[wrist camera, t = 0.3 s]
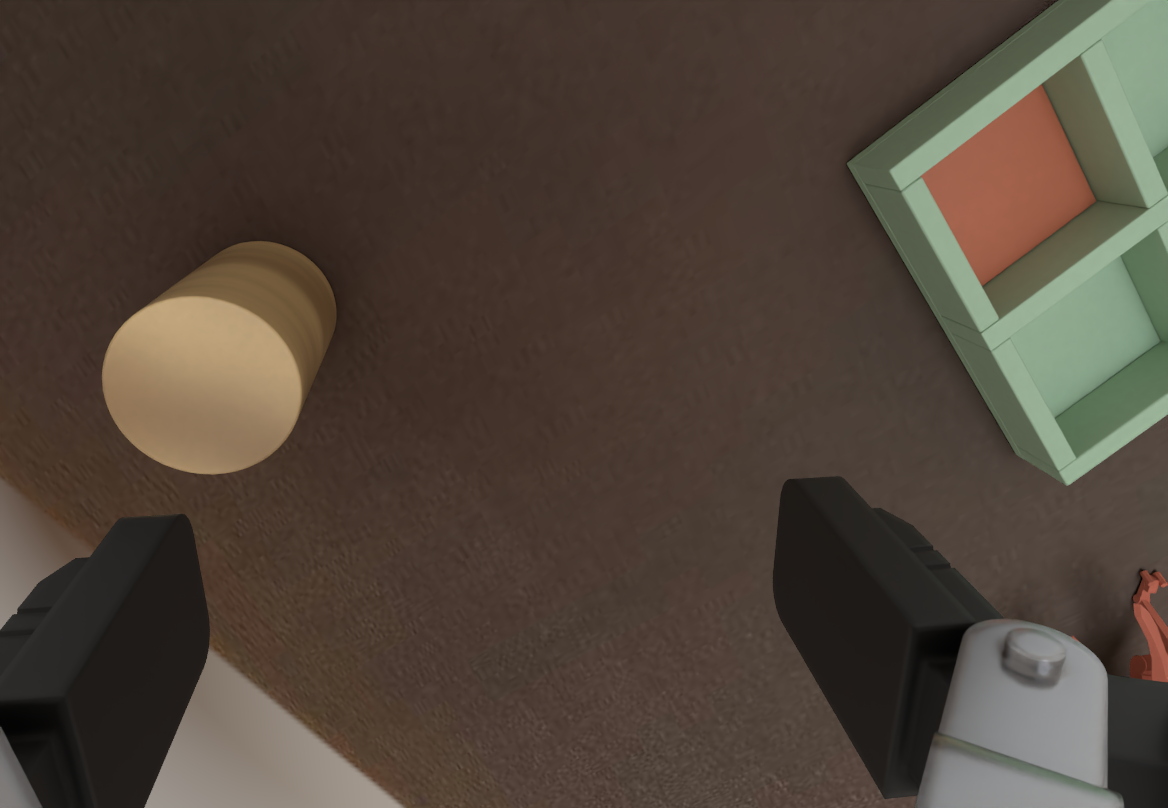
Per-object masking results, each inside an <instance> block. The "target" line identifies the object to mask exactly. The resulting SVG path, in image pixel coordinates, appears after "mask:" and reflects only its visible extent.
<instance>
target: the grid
mask: <svg viewBox="0 0 1168 808" xmlns="http://www.w3.org/2000/svg"><path fill="white" fill-rule="evenodd" d="M847 166H848V167H849V169H850V171H851V172H852V174H853V176H854V178H855V179H856V181H857V183H858V184H859V186H860V188H861V190H862V191H863V193H864V195H865V196H866V198H867V200H868V202H869V203H870V205H871V207H872V208H873V210H874V212H875V214H876V215H877V217H878V219H879V220H880V222H881V224H882V226H883V227H884V229H885V231H886V232H887V234H888V236H889V238H890V239H891V241H892V243H893V244H894V246H895V248H896V250H897V251H898V253H899V255H900V256H901V258H902V260H903V262H904V263H905V265H906V267H907V268H908V270H909V272H910V274H911V275H912V277H913V279H914V280H915V282H916V284H917V286H918V287H919V289H920V291H921V292H922V294H923V296H924V298H925V299H926V301H927V303H928V304H929V306H930V308H931V310H932V311H933V313H934V315H935V316H936V318H937V320H938V322H939V323H940V325H941V327H942V328H943V330H944V332H945V334H946V335H947V337H948V339H949V340H950V342H951V344H952V346H953V347H954V349H955V351H956V352H957V354H958V356H959V358H960V359H961V361H962V363H963V364H964V366H965V368H966V370H967V371H968V373H969V375H970V376H971V378H972V380H973V382H974V383H975V385H976V387H977V388H978V390H979V392H980V394H981V395H982V397H983V399H984V400H985V402H986V404H987V406H988V407H989V409H990V411H991V412H992V414H993V416H994V418H995V419H996V421H997V423H998V424H999V426H1000V428H1001V430H1002V431H1003V433H1004V435H1005V436H1006V438H1007V440H1008V442H1009V443H1010V445H1011V447H1012V448H1013V450H1014V452H1015V454H1016V455H1017V456H1019V457H1021V458H1022V459H1024V460H1026V461H1028V462H1029V463H1031V464H1033V465H1034V466H1036V467H1037V468H1039V469H1041V470H1042V471H1044V472H1046V473H1047V474H1049V475H1050V476H1052V477H1054V478H1055V479H1057V480H1058V481H1060V482H1062V483H1063V484H1065V485H1070V484H1071V483H1073V482H1074V481H1075V480H1077V479H1078V478H1079V477H1081V476H1082V475H1084V474H1085V473H1086V472H1088V471H1089V470H1091V469H1092V468H1093V467H1095V466H1096V465H1098V464H1099V463H1100V462H1102V461H1103V460H1105V459H1106V458H1107V457H1109V456H1110V455H1112V454H1113V453H1114V452H1116V451H1117V450H1119V449H1120V448H1121V447H1123V446H1124V445H1126V444H1127V443H1128V442H1130V441H1131V440H1133V439H1134V438H1135V437H1137V436H1138V435H1140V434H1141V433H1142V432H1144V431H1145V430H1147V429H1148V428H1149V427H1151V426H1152V425H1154V424H1155V423H1156V422H1158V421H1159V420H1161V419H1162V418H1163V417H1165V416H1166V415H1167V414H1168V0H1058V1H1057V2H1055V3H1054V4H1053V5H1052V6H1050V7H1049V8H1048V9H1046V10H1045V11H1044V12H1042V13H1041V14H1040V15H1039V16H1037V17H1036V18H1035V19H1033V20H1032V21H1031V22H1029V23H1028V24H1027V25H1026V26H1024V27H1023V28H1022V29H1020V30H1019V31H1018V32H1016V33H1015V34H1014V35H1013V36H1011V37H1010V38H1009V39H1007V40H1006V41H1005V42H1003V43H1002V44H1001V45H1000V46H998V47H997V48H996V49H994V50H993V51H992V52H990V53H989V54H988V55H987V56H985V57H984V58H983V59H981V60H980V61H979V62H978V63H976V64H975V65H974V66H972V67H971V68H970V69H968V70H967V71H966V72H965V73H963V74H962V75H961V76H959V77H958V78H957V79H955V80H954V81H953V82H952V83H950V84H949V85H948V86H946V87H945V88H944V89H942V90H941V91H940V92H939V93H937V94H936V95H935V96H933V97H932V98H931V99H929V100H928V101H927V102H926V103H924V104H923V105H922V106H920V107H919V108H918V109H916V110H915V111H914V112H913V113H911V114H910V115H909V116H907V117H906V118H905V119H903V120H902V121H901V122H900V123H898V124H897V125H896V126H894V127H893V128H892V129H891V130H889V131H888V132H887V133H885V134H884V135H883V136H881V137H880V138H879V139H878V140H876V141H875V142H874V143H872V144H871V145H870V146H868V147H867V148H866V149H865V150H863V151H862V152H861V153H859V154H858V155H857V156H855V157H854V158H853V159H852V160H850V161H849V162H848V163H847Z"/></svg>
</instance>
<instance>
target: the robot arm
mask: <svg viewBox="0 0 1168 808" xmlns="http://www.w3.org/2000/svg"><path fill="white" fill-rule="evenodd" d="M773 592H774V599H775V604H776V608H777V611H778V614H779V617H780V619H781V621H782V623H783V625H784V627H785V628H786V630H787V632H788V633H789V635H790V637H791V639H792V640H793V642H794V644H795V645H796V647H797V649H798V651H799V652H800V654H801V656H802V657H803V659H804V661H805V663H806V664H807V666H808V668H809V670H810V671H811V673H812V675H813V676H814V678H815V680H816V682H817V683H818V685H819V687H820V688H821V690H822V692H823V694H824V695H825V697H826V699H827V700H828V702H829V704H830V706H831V707H832V709H833V711H834V713H835V714H836V716H837V718H838V719H839V721H840V723H841V725H842V726H843V728H844V730H845V731H846V733H847V735H848V737H849V738H850V740H851V742H852V743H853V745H854V747H855V749H856V750H857V752H858V754H859V756H860V757H861V759H862V761H863V762H864V764H865V766H866V768H867V769H868V771H869V773H870V774H871V776H872V778H873V780H874V781H875V783H876V785H877V786H878V788H879V790H880V792H881V793H882V795H883V797H884V799H889V798H898V797H907V796H917V795H918V796H917V800H916V804H915V807H914V808H1168V682H1160V681H1153V680H1145V679H1137V678H1130V677H1122V676H1114V675H1108V674H1107V672H1106V670H1105V668H1104V665H1103V664H1102V663H1101V661H1100V660H1099V659H1098V657H1097V656H1096V655H1095V654H1094V653H1093V652H1092V651H1091V650H1089V649H1088V648H1087V647H1085V646H1084V645H1083V644H1081V643H1080V642H1078V641H1077V640H1075V639H1073V638H1072V637H1070V636H1068V635H1066V634H1064V633H1062V632H1059V631H1057V630H1054V629H1052V628H1049V627H1046V626H1043V625H1040V624H1036V623H1032V622H1028V621H1022V620H1015V619H1005V618H1004V617H1003V616H1002V615H1001V614H1000V613H999V612H998V611H997V610H996V609H995V608H994V607H993V606H992V605H991V604H990V603H989V602H988V601H987V600H986V599H985V598H984V597H983V596H982V595H981V594H980V593H979V592H978V591H977V590H976V589H975V588H974V587H973V586H972V585H971V584H970V583H969V582H968V581H967V580H966V579H965V578H964V577H963V576H962V575H961V574H960V573H959V572H958V571H957V570H956V569H955V568H951V567H950V563H949V562H948V561H947V560H946V559H945V558H944V557H943V556H942V555H941V554H940V553H939V552H938V551H937V550H935V551H934V550H933V546H932V545H931V544H930V543H929V542H928V541H927V540H926V539H925V538H924V537H923V536H922V535H921V534H920V532H919V531H918V530H917V529H916V528H915V527H914V526H913V525H911V524H909V523H907V522H905V521H904V520H902V519H900V518H898V517H896V516H894V515H892V514H891V513H889V512H887V511H885V510H883V509H881V508H871V507H870V506H869V505H868V504H867V503H866V502H865V501H864V500H863V499H862V497H861V496H860V495H859V494H858V493H857V492H856V491H855V490H854V489H853V488H852V487H851V486H850V485H849V484H848V482H847V481H846V480H845V479H843V478H842V477H838V476H836V477H819V478H803V479H789V480H787V481H786V482H785V483H784V485H783V488H782V492H781V497H780V507H779V517H778V528H777V538H776V549H775V559H774V570H773ZM209 637H210V626H209V616H208V610H207V604H206V599H205V593H204V588H203V582H202V577H201V572H200V566H199V561H198V555H197V550H196V544H195V539H194V534H193V529H192V526H191V523H190V521H189V519H188V518H187V516H186V515H184V514H172V515H155V516H138V517H123V518H120V519H119V520H118V521H117V522H116V523H115V524H114V526H113V527H112V528H111V530H110V531H109V532H108V534H107V535H106V536H105V538H104V539H103V540H102V542H101V543H100V544H99V546H98V547H97V548H96V550H95V551H94V552H93V554H92V555H91V556H90V557H88V558H75V559H74V560H72V561H71V562H69V563H68V564H66V565H65V566H63V567H62V568H60V569H59V570H57V571H56V572H54V573H53V574H51V575H50V576H48V577H46V578H45V579H43V580H42V581H40V582H39V583H38V584H37V586H36V587H35V588H34V589H33V591H32V592H31V593H30V594H29V596H28V597H27V598H26V599H25V601H24V602H23V603H22V604H21V605H20V607H19V608H18V612H17V614H14V615H12V616H11V618H10V619H9V620H8V621H7V622H6V624H5V625H4V626H3V627H2V629H1V630H0V808H144V807H145V804H146V802H147V800H148V797H149V795H150V793H151V790H152V788H153V785H154V783H155V781H156V779H157V776H158V774H159V772H160V769H161V766H162V764H163V762H164V759H165V757H166V755H167V753H168V750H169V748H170V745H171V743H172V741H173V739H174V736H175V734H176V731H177V729H178V726H179V724H180V722H181V720H182V717H183V715H184V713H185V710H186V708H187V706H188V703H189V701H190V699H191V696H192V694H193V692H194V689H195V687H196V684H197V682H198V680H199V677H200V675H201V673H202V670H203V668H204V665H205V663H206V659H207V654H208V648H209Z"/></svg>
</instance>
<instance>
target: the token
mask: <svg viewBox="0 0 1168 808" xmlns="http://www.w3.org/2000/svg"><path fill="white" fill-rule="evenodd" d="M336 320H337V309H336V302H335V298H334V294H333V291H332V289H331V286H330V284H329V282H328V281H327V279H326V277H325V276H324V274H323V273H322V272H321V270H320V269H319V268H318V267H317V266H316V265H315V264H314V263H313V262H312V261H311V260H310V259H308V258H307V257H306V256H304V255H303V254H301V253H300V252H298V251H296V250H294V249H292V248H290V247H287V246H284V245H281V244H278V243H273V242H266V241H250V242H244V243H239V244H236V245H233V246H231V247H228V248H226V249H224V250H222V251H221V252H219V253H218V254H216V255H215V256H213V257H212V258H211V259H209V260H208V261H207V262H205V263H204V264H202V265H201V266H200V267H198V268H197V269H196V270H194V271H193V272H192V273H190V274H189V275H187V276H186V277H185V278H183V279H182V280H181V281H179V282H178V283H176V284H175V285H174V286H172V287H171V288H170V289H168V290H167V291H165V292H164V293H163V294H161V295H160V296H159V297H157V298H156V299H154V300H153V301H152V302H150V303H149V304H148V305H146V306H145V307H143V308H142V309H141V310H139V311H138V312H137V313H135V314H134V315H133V316H132V317H130V318H129V319H128V320H127V321H126V322H125V323H124V324H123V325H122V326H121V327H120V329H119V330H118V331H117V332H116V334H115V335H114V337H113V339H112V340H111V342H110V344H109V347H108V349H107V352H106V354H105V359H104V363H103V371H102V384H103V392H104V396H105V401H106V404H107V406H108V409H109V412H110V414H111V416H112V418H113V419H114V421H115V423H116V425H117V426H118V427H119V429H120V430H121V432H122V433H123V434H124V435H125V436H126V437H127V439H128V440H129V441H130V442H131V443H132V444H133V445H135V446H136V447H137V448H138V449H139V450H140V451H142V452H143V453H145V454H146V455H148V456H149V457H151V458H152V459H154V460H156V461H158V462H160V463H162V464H164V465H167V466H169V467H172V468H175V469H178V470H182V471H186V472H191V473H198V474H222V473H229V472H234V471H239V470H242V469H245V468H248V467H250V466H252V465H255V464H257V463H259V462H261V461H262V460H264V459H265V458H267V457H268V456H270V455H271V454H272V453H273V452H275V451H276V450H277V449H278V448H279V447H280V446H281V445H282V444H283V443H284V442H285V440H286V439H287V438H288V436H289V435H290V433H291V432H292V430H293V428H294V426H295V424H296V422H297V419H298V417H299V415H300V412H301V410H302V407H303V405H304V403H305V400H306V398H307V396H308V393H309V391H310V388H311V386H312V384H313V381H314V379H315V377H316V374H317V372H318V370H319V367H320V365H321V362H322V360H323V358H324V355H325V353H326V351H327V348H328V346H329V344H330V341H331V339H332V336H333V333H334V330H335V326H336Z"/></svg>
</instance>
